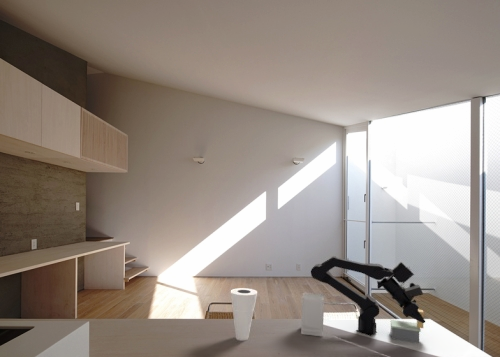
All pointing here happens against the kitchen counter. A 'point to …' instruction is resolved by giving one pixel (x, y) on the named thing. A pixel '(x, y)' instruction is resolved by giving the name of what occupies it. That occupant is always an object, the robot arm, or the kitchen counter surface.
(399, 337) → the tub
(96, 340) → the kitchen counter surface
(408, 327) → the lid
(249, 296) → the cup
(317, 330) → the supplement box
